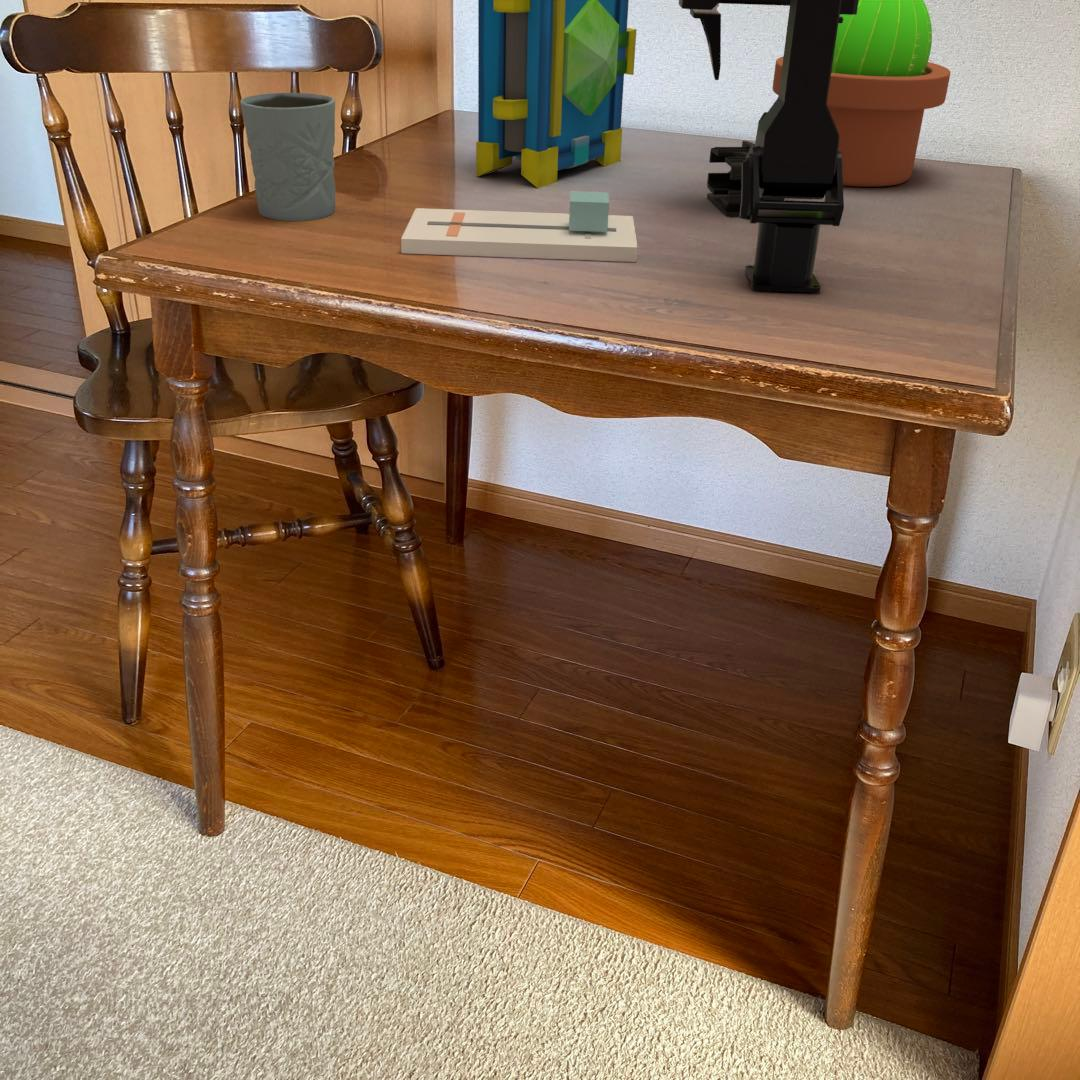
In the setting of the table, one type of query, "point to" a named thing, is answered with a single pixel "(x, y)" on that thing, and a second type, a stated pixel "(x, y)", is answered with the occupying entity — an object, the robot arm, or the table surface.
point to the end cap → (728, 179)
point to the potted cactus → (881, 89)
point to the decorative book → (551, 84)
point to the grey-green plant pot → (292, 154)
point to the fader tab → (588, 211)
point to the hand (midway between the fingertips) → (757, 81)
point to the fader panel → (516, 236)
